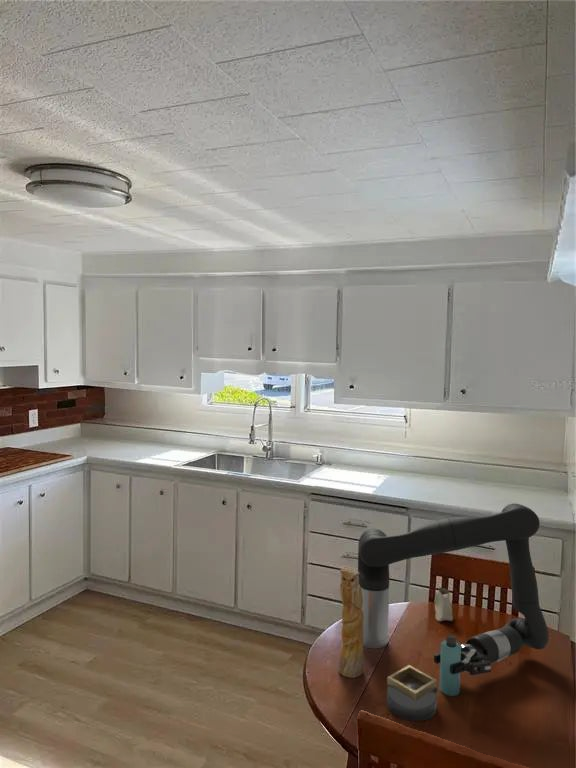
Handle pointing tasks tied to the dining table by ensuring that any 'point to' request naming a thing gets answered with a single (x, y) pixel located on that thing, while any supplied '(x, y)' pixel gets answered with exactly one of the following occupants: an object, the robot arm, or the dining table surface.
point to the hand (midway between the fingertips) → (443, 664)
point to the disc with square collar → (412, 694)
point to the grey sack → (443, 605)
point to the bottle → (449, 657)
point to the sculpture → (351, 625)
